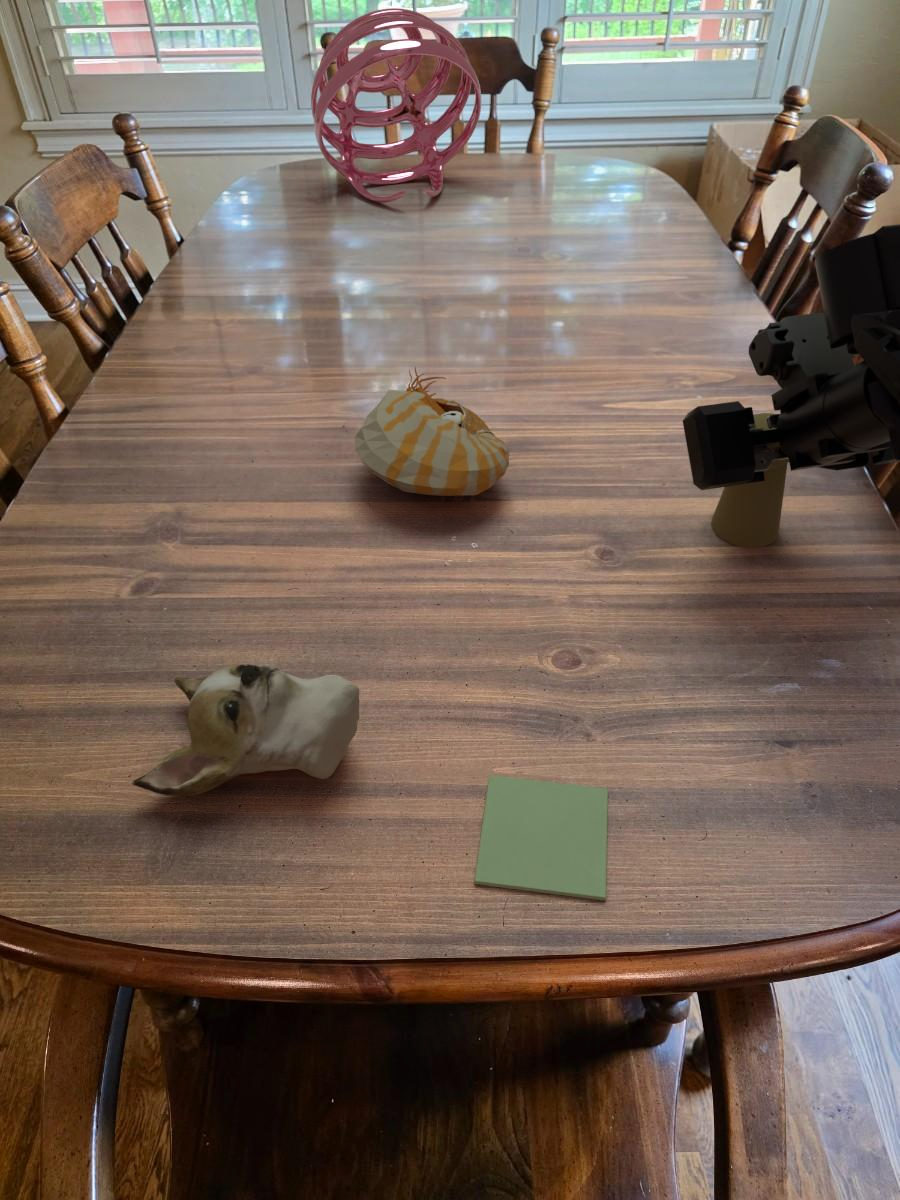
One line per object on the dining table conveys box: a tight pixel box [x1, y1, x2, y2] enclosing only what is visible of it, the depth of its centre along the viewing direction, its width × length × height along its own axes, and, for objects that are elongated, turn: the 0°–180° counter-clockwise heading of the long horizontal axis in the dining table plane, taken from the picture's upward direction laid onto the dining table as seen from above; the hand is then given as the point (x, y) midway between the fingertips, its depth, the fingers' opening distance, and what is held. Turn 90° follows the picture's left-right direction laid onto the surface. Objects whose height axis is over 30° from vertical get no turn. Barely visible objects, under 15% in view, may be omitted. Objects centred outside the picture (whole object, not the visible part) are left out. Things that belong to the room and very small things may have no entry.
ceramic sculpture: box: [131, 663, 360, 797], centre depth 58 cm, size 11×9×15 cm
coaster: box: [474, 774, 609, 902], centre depth 56 cm, size 8×8×1 cm
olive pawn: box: [710, 412, 789, 548], centre depth 76 cm, size 6×6×11 cm
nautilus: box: [354, 366, 510, 497], centre depth 86 cm, size 8×22×15 cm
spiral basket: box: [310, 7, 482, 204], centre depth 143 cm, size 28×28×27 cm
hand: (753, 458), depth 76 cm, fingers closed on olive pawn, 5 cm apart
